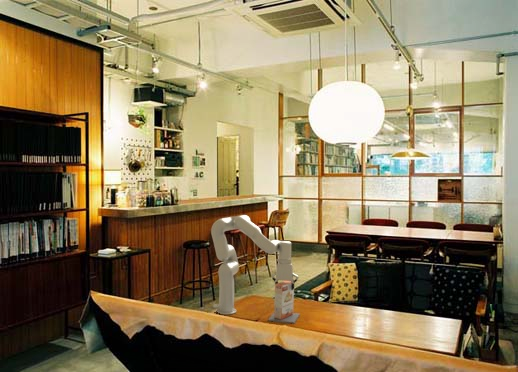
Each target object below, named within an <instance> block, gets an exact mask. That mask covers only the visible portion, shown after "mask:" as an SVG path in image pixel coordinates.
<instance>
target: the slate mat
mask: <svg viewBox="0 0 518 372" xmlns="http://www.w3.org/2000/svg"><path fill="white" fill-rule="evenodd" d="M300 315H301V314H300V313H298V312H293V315H291V316H288V317H286V318H284V319H282V320H281V319H277V318H274V312H273V313H272V314H271V315H270V316H269V318H268V319H267V322H271V321H273V322H274V323H281V324H290V323H292V324H293V325H294V324H296V322H297V320H298V319H299V317H300ZM273 322H272V323H273ZM292 324H291V325H292Z"/></svg>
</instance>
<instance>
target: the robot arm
mask: <svg viewBox="0 0 518 372" xmlns="http://www.w3.org/2000/svg"><path fill="white" fill-rule="evenodd" d="M232 230H239V231H240V232H241V233H243V234H244V235H246V236H247V237H249V238H250V239H251V240H252V241H253V243H254V244H255V245H256V246H257V247H258V248H259V249H261V250H262V251H263V252H265V253H267V254H269V255H272V254H275V253H277V252H278V254H279V255H278V258H276V262H278V263H277V265H276V272H274V273H272V274H270V277H271V279H272V280H273V282H274V285H275V284H277V283H279V282H278V281H291V282H292V284H291V290H293V289H294V290H295V283H297V281H298V280H299V278H300V276H299V275H298V274H295V273H294V268H293V263H292V242H291V241H289V240H288V241H287V240H277V239H272V240H270V239H268V238H267V237H266V236H265V235H264V234H263V233H262V230H261V228H260V227H259V226H257V225H256V224H255V223H253V222H252V221H251V218H250V216H248V215H246V214H241V215H237V216H229V217H222V218H219V219H217V220H216V221H215V222H213V224H212V226H211V229H210V232H211V237H212V241H213V246H214V250H215V254H216V258H217V260H219V261H221V262H223V263H222V264H220V266H219V268H218V271H217V274H218V280H219V281H218V282H219V284H218V287H219V288H218V289H219V292H218V293H219V295H218V298H219V300H218V301H219V302H218V304H217V303H214V304H213V305H212V307H213V309H216V313H217V312H218V313H217V314H219V313H220V315H227V316H228V315H233V314H236V313H237V309H236V308H235V305H234V304H235V279H234V275H236V274H237V273H238V272H239V269H240V266H239V265H240V264H239V260H238V256H237V252H236V250H235V247H234V246H233V245H231V244H228V240H227V237H226V234H225V232H228V231H232ZM294 278H295V279H294Z"/></svg>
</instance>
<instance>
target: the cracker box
mask: <svg viewBox="0 0 518 372" xmlns="http://www.w3.org/2000/svg"><path fill="white" fill-rule="evenodd" d="M291 284H292V282H291V281H284V280H282V281H280V282H278V283H277V284H275V283H274V305H273V306H274V307H273V310H274V311H273V313H274V318H277V319H281V320H282V319H284V318H286V317H288V316H291V315H293V313H294V300H295V299H294V297H295V295H294V294H295V288H294V289H293V290H291Z"/></svg>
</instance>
